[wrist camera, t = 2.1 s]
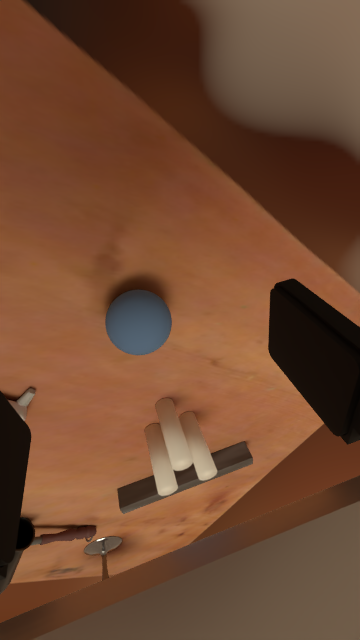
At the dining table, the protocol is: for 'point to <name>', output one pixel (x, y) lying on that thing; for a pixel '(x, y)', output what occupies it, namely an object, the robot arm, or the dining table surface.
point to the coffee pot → (28, 538)
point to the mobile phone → (23, 403)
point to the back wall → (183, 478)
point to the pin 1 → (160, 460)
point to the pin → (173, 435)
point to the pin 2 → (197, 446)
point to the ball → (138, 322)
